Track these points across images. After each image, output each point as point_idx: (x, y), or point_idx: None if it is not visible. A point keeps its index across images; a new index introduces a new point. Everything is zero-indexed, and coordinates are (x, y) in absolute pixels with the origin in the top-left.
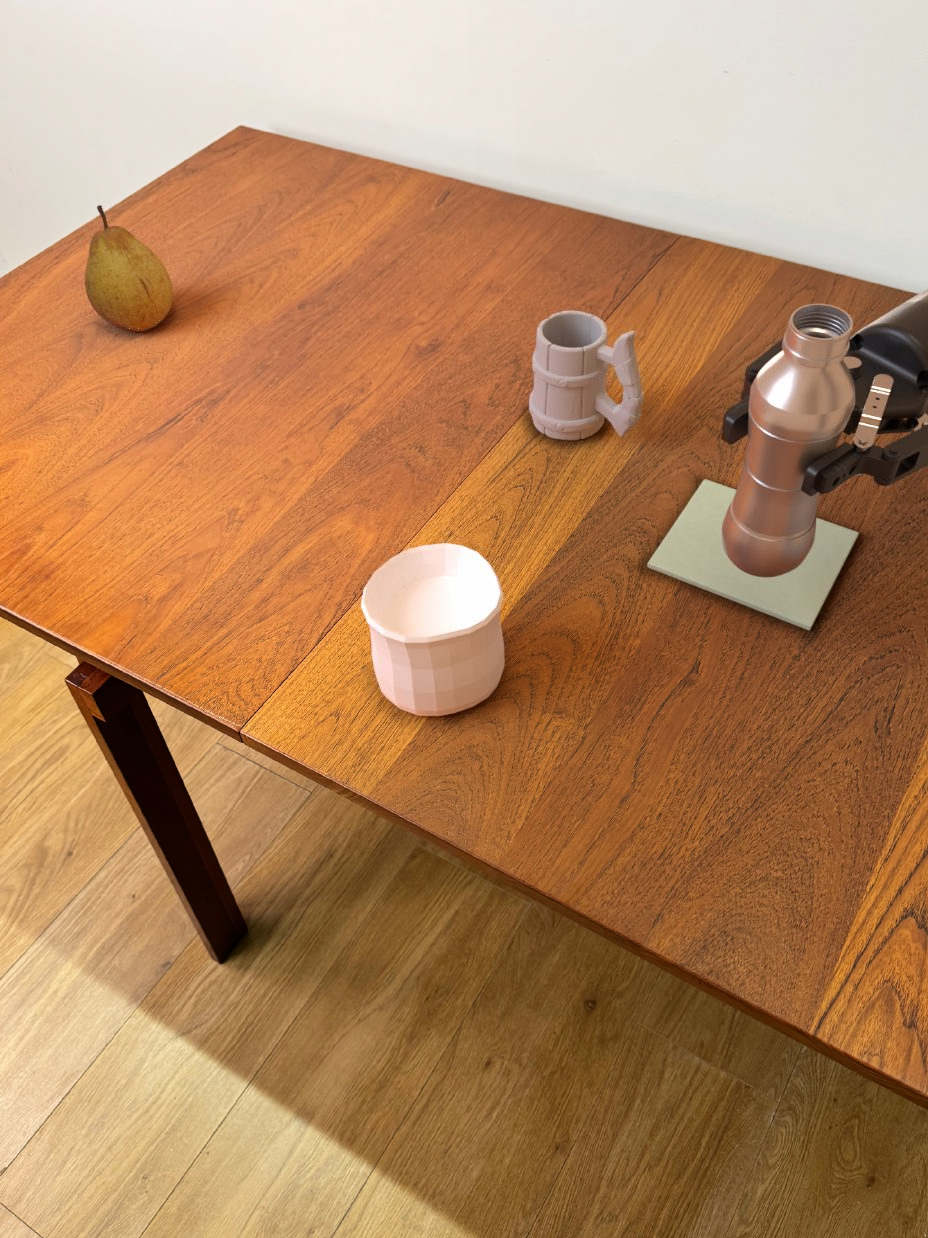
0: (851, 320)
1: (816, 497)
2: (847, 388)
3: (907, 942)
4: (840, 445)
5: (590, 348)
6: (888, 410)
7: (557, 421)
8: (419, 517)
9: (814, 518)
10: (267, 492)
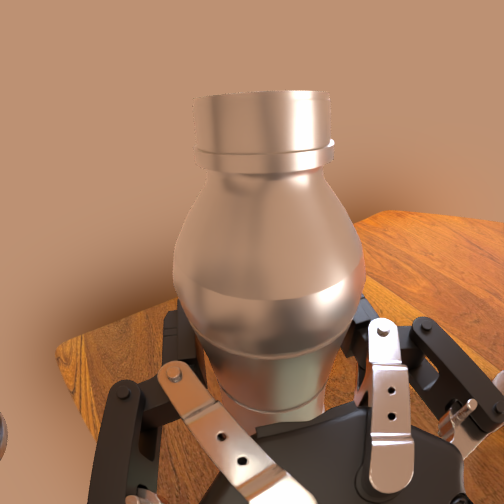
0: (224, 95)
1: (224, 401)
2: (186, 241)
3: (69, 381)
4: (193, 344)
5: None
6: (218, 482)
7: (495, 381)
8: (427, 311)
9: None
10: (443, 264)
